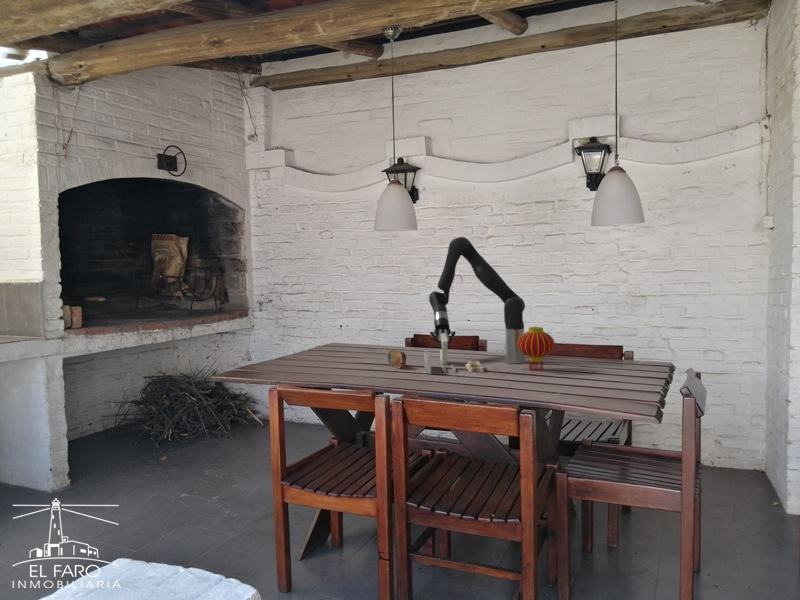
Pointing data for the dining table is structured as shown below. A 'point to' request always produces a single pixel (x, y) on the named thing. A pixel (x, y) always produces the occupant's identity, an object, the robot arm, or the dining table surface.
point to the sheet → (443, 349)
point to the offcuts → (474, 366)
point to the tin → (397, 358)
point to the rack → (428, 363)
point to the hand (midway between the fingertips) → (444, 348)
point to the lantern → (536, 346)
